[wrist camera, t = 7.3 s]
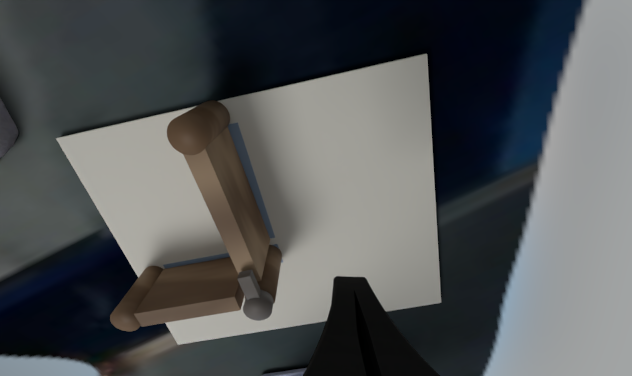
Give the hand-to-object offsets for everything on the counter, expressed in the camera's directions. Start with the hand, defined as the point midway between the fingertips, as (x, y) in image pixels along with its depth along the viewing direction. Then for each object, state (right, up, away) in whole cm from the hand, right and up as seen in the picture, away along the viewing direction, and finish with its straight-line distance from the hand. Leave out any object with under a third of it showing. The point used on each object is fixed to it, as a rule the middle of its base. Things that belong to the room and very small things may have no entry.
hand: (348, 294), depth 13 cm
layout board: (-4, +2, +10) cm, 11 cm away
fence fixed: (-10, -2, +11) cm, 15 cm away
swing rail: (-6, +4, +8) cm, 11 cm away
